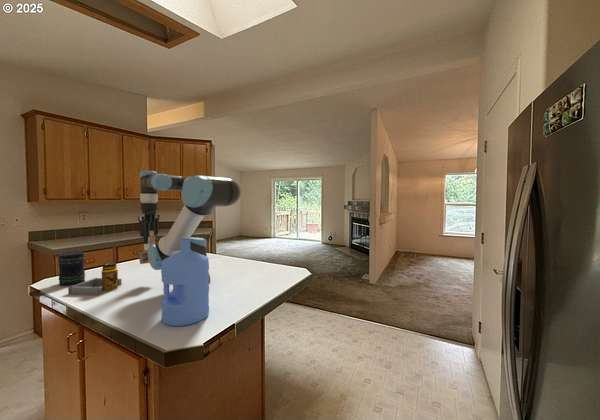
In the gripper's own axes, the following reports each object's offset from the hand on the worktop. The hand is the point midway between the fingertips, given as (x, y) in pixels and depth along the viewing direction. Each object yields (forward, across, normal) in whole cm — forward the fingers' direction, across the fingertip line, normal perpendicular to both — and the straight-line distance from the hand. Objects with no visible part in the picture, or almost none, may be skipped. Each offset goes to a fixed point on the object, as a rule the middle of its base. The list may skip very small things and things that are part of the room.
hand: (149, 249), depth 129 cm
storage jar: (+17, +4, -38) cm, 42 cm away
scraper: (+6, 0, +2) cm, 6 cm away
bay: (+17, +11, -18) cm, 27 cm away
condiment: (+17, +10, -14) cm, 24 cm away
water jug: (+17, +34, +37) cm, 53 cm away
